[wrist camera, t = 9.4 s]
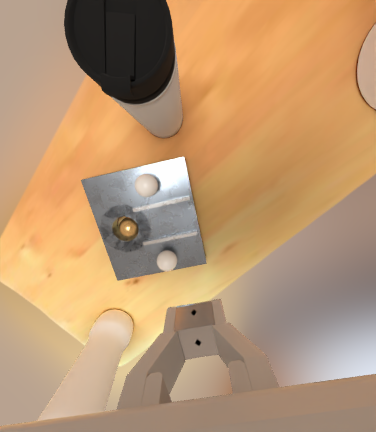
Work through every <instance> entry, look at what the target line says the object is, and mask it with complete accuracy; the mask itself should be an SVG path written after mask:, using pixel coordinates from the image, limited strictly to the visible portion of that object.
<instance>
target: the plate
mask: <svg viewBox="0 0 376 432" xmlns="http://www.w3.org/2000/svg"><path fill="white" fill-rule="evenodd" d="M142 174H150V175H152V176H153V177H154V178H155V179H156V180H157V182H158V190H157V192H156V193H155V194H154V195H153V196H151V197H143V196H141V195H139V194H138V193H137V192H136V190H135V181H136V179H137V178H138V177H139V176H140V175H142ZM81 182H82V184H83V187H84V190H85V193H86V195H87V198H88V201H89V204H90V206H91V209H92V212H93V215H94V217H95V220H96V223H97V225H98V228H99V231H100V234H101V236H102V239H103V242H104V245H105V247H106V250H107V253H108V256H109V258H110V261H111V264H112V266H113V269H114V272H115V275H116V277H117V280H123V279H129V278H134V277H139V276H144V275H149V274H155V273H160V272H165V271H163V270H161V269H160V268H159V267H158V265H157V257H158V255H159V254H160V253H161V252H162V251H165V250H169V251H172V252H174V253H175V255H176V257H177V264H176V266H175V268H174V269H173V270H176V269H181V268H186V267H191V266H196V265H202V264H207V263H206V257H205V253H204V248H203V243H202V238H201V234H200V229H199V224H198V220H197V215H196V210H195V205H194V201H193V196H192V191H191V186H190V182H189V177H188V172H187V167H186V163H185V158H184V157H180V158H176V159H171V160H167V161H163V162H158V163H154V164H149V165H145V166H141V167H136V168H132V169H127V170H123V171H119V172H114V173H110V174H105V175H101V176H97V177H92V178H88V179H83V180H81ZM123 216H126V217H129V218H132V219H133V220H134V221H135V222H136V223H137V225H138V228H139V231H138V234H137V235H135V236H133V237H125V236H123V235H122V234H121V233H120V231H119V227H118V224H117V223H118V219H119V217H123Z"/></svg>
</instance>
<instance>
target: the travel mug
mask: <svg viewBox="0 0 376 432" xmlns="http://www.w3.org/2000/svg"><path fill="white" fill-rule="evenodd" d="M64 26H65V35H66V39H67V43H68V46H69V49H70V50H71V53H72V55H73V57H74V59H75V61H76V62H77V63H78V65H79V66H80V68H81V69H82V70H83V71H84V72H85V73H86V74H87V75H88V76H90V77H91V78H92V79H93V80H94V81H95V82H96V83H97V84H98V85H99V86H101V88H102V91H103V92H104V93H106V94H107V95H109V96H110V97H112V98H113V99H114V100H115V101H116V102H117V103H118V104H119V105H120V106H122V107H123V108H124V109H125V110H126V111H127V112H128V113H129V114H130V115H132V116H133V117H134V118H135V119H136V120H137V121H138V122H139V123H140V124H142V125H143V126H144V127H145V128H146V129H147V130H148V131H149V132H151V133H152V134H153V135H155V136H157V137H159V138H168V137H171V136H173V135H175V134H176V133H177V132H178V131H179V129H180V127H181V125H182V121H183V112H182V102H181V93H180V84H179V74H178V65H177V56H176V48H175V43H174V36H173V28H172V20H171V15H170V10H169V7H168V5H167V2H166V0H68V1H67V5H66V9H65V19H64Z"/></svg>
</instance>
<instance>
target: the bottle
mask: <svg viewBox="0 0 376 432" xmlns="http://www.w3.org/2000/svg"><path fill="white" fill-rule="evenodd" d="M132 333H133V322H132V319H131V317H130V316H129V315H128V314H127V313H125V312H124V311H121V310H116V309H113V310H108V311H106V312H104V313H103V314H101V315H100V316H99V317H98V319H97V320H96V321H95V323H94V325H93V326H92V328H91V331H90V334H89V339H88V342H87V343H86V345H85V347H84V348H83V350H82V352H81V353H80V355H79V356H78V358H77V359H76V361H75V362H74V364H73V365H72V367H71V369H70V370H69V372H68V373H67V375H66V376H65V378H64V379H63V381H62V383H61V384H60V386H59V387H58V389H57V390H56V392H55V393H54V395H53V396H52V398H51V399H50V401H49V403H48V404H47V406H46V407H45V409H44V410H43V412H42V414H41V415H40V417H39V418H38V420H37V421H40V420H47V419H54V418H61V417H69V416H76V415H83V414H90V413H97V412H105V408H106V404H107V401H108V398H109V395H110V391H111V387H112V384H113V381H114V378H115V374H116V371H117V367H118V364H119V361H120V358H121V355H122V353H123V351H124V350H125V348H126V347H127V346H128V344H129V342H130V339H131V336H132Z"/></svg>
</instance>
